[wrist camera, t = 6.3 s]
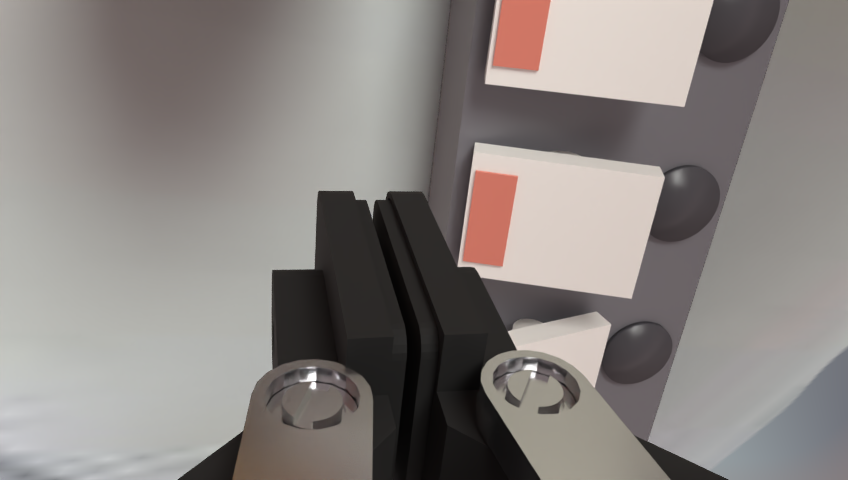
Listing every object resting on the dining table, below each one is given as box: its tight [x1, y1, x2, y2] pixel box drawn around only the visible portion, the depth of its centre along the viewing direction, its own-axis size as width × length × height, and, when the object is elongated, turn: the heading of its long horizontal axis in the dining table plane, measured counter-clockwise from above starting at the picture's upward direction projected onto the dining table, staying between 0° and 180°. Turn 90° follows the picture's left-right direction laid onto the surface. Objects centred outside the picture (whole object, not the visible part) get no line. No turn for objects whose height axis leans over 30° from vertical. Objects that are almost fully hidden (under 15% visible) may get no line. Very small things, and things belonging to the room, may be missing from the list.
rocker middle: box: [458, 142, 665, 299], centre depth 33 cm, size 8×6×2 cm
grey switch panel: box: [428, 0, 789, 441], centre depth 37 cm, size 14×36×4 cm, turn 175°
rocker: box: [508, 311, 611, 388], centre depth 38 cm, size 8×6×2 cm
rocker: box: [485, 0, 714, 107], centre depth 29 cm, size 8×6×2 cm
